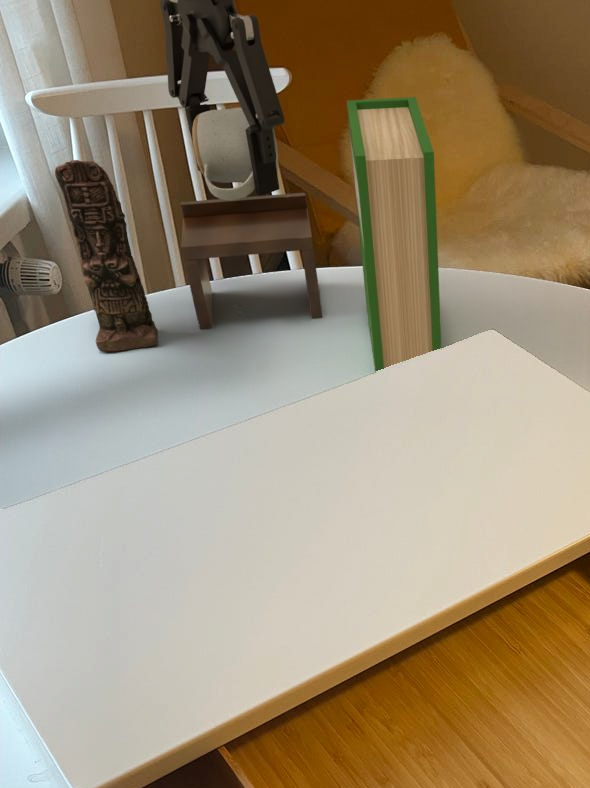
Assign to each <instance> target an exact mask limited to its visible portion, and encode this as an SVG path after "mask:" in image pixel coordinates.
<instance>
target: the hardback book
mask: <svg viewBox="0 0 590 788" xmlns="http://www.w3.org/2000/svg"><path fill="white" fill-rule="evenodd" d="M346 108H347V119H348V130H349V138H350V139H349V141H350V148H351V149H350V150H351V159H352V169H353V170H352V171H353V180H354V190H355V191H354V193H355V201H356V211H357V212H356V213H357V222H358V233H359V243H360V254H361V264H362V273H363V283H364V285H363V286H364V294H365V304H366V314H367V315H368V316H367V322H368V330H369V336H370V337H371V338H370V345H371V350H372V358H373V359H374V360H373V367H374V366H375V367H374V372H375V371H378V370H381V369H384V368H386V367H389V366H391V365H394V364H397V363H400V362H403V361H406V360H409V359H411V358H414V357H416V356H420V355H423V354H426V353H428V352H431V351H434V350H437V349H440V348H441V349H442V327H441V301H440V278H439V277H440V276H439V250H438V249H439V248H438V223H437V222H438V221H437V200H436V199H437V197H436V195H437V194H436V178H435V177H436V175H435V173H436V171H435V151H434V147H433V145H432V142H431V139H430V135H429V133H428V131H427V126H426V124H425V121H424V119H423V115H422V113H421V109H420V106H419V103H418V101H417V97H416V96H411V97H408V96H407V97H391V98H390V97H389V98H370V99H350V100H346Z"/></svg>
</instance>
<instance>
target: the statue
mask: <svg viewBox="0 0 590 788" xmlns="http://www.w3.org/2000/svg"><path fill="white" fill-rule="evenodd" d="M54 176H55V179H56V182H57V183H58V186H59V188H60V190H61V192H62V194H63V199H64V203H65V207H66V211H67V215H68V219H69V221H70V222H71V227H72V232H73V236H74V238H75V241H76V245H77V247H78V248H77V249H78V253H79V258H80V260H79V261H80V262H79V263H80V267H81V273H82V276H83V279H84V283H85V285H86V287H87V288H88V292H89V293H88V294H89V296H90V299H91V302H92V306H93V308H92V309H93V311H94V313H95V314H96V318H97V323H98V326H99V330H98V332H97V334H96V338H95V344H96V347H97V349H98V351H100V352H119V351H126V350H127V351H128V350H133V349H139V348H147V347H154V346H156V345H157V344H159V341H158V337H159V336H158V335H159V334H158V327H156V324H155V321H154V320H153V314H152V313H151V311H150V306H149V302H148V300H147V296H146V292H145V289H144V286H143V284H142V281H141V280H142V279H141V277H140V274H139V272H138V268H137V265H136V262H135V260H134V257H133V254H132V250H131V245H130V240H129V236H128V229H127V221H126V219H125V217H126V215H125V213H124V212H123V208H122V203H121V201H119V199H118V196H117V193H116V190H115V188H114V185H113V183H112V181H111V179H110V177H109V174H108V173H107V172H106V171H105V169H104V168H103V167H102V166H100V165H99V164H98V163H97V162H95V161H93V160H85V161H83V160H79V159H72V160H70V161H66V162H64V163H62V164H59V165H58V166H56V167H55V169H54Z"/></svg>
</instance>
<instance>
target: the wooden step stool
mask: <svg viewBox="0 0 590 788" xmlns="http://www.w3.org/2000/svg"><path fill="white" fill-rule="evenodd" d="M180 211H181V214H182V218H183V219H182V231H181V241H180V242H181V243H180V244H181V245H180V249H181V254H182V258H183V263H184V267H185V271H186V276H187V280H188V285H189V288H190V289H189V290H190V293H191V298H192V302H193V306H194V310H195V315H196V318H197V323H198V327H199V330H206V329H212V321H213V319H212V315H213V290H212V285H211V281H210V276H209V271H208V266H207V261H206V259H213V258H227V257H228V258H229V257H238V256H251V255H252V256H253V255H263V254H264V255H265V254H274V253H275V254H276V253H286V252H296V251H297V252H299V251H301V255H302V262H303V269H304V277H305V284H306V291H307V297H308V305H309V311H310V319H313V320H314V319H320V318H321V319H322V318H323V311H322V310H323V309H322V301H321V296H320V288H319V280H318V273H317V265H316V257H315V250H314V243H313V235H312V234H313V233H312V229H311V224H310V223H311V222H310V216H309V211H308V202H307V195H306V192H295V193H294V192H293V193H282V194H281V193H280V194H266V195H262V196H260V195H255V196H246V197H244V198H242V199H239V200H232V201H227V200H222V199H219V198H217V199H205V200H204V199H203V200H191V201H190V200H189V201H181V202H180Z"/></svg>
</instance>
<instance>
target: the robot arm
mask: <svg viewBox="0 0 590 788" xmlns="http://www.w3.org/2000/svg"><path fill="white" fill-rule="evenodd" d="M159 3H160V4H159V5H160V9H161V14H162V19H163V23H164V33H165V34H164V35H165V52H166V54H165V55H166V70H167V71H166V72H167V87H168V94H169V95H170V97H171V98H172V99H174V98H177V99H178V101H179V104H180V106H181V107H182V108H184V113H185V117H186V121H187V126H188V131H189V134H190V139H191V143H192V148H193V149H194V146H193V137H192V128H193V122H194V120H195V118H196V116H197V115H198V114H201V113H203V112H206V111H210V110H211V107H210V105H209V104H208V103H207V104H206V103H205V102H208V101H209V98H208V96H207V95H206V86H207V85H206V84H207V79H208V73H209V63H210V58H211V56H213V59H214V61H215V63H216V64H217V65H218V66H219V67H222V69H223V70H224V73H225V75H226V77H227V80H228V82H229V84H230V86H231V88H232V90H233V92H234V93H233V94H234V95H235V97H236V99H237V101H238V104H239V106H240V107H241V108H242V110H243V112H244V115H245V117H246V119H247V121H248V123H249V126H250V127H248V128H247V129H246V130H245V131H246V136H247V142H248V148H249V154H250V159H251V165H252V171H253V177H254V183H255V195H256V196H266V195H268V194H270V193H273V192H276V191H278V190H281V188H280V183H279V182H280V181H279V176H278V174H277V168H276V162H275V161H276V152H275V147H274V139H273V132H272V131H273V127H274V128H275V127H277V126H280V125H284V124H285V116H284V113H283V109H282V105H281V102H280V100H279V96H278V93H277V90H276V85H275V83H274V79H273V77H272V73H271V69H270V67H269V63H268V60H267V57H266V53H265V50H264V47H263V45H262V38H261V32H260V31H261V30H260V25H259V19H258V17H257V16H256V15H255V14H254V13H252V14H249V15H242V14H239V12H238V9H237V7H236V5H235V1H234V0H160V2H159ZM234 48H235V49H234ZM233 49H234V50H233ZM202 103H203V104H202ZM256 114H257V117H258V118H257V117H256ZM193 152H194V154H195V151H194V150H193ZM194 158H195V163H196V167H197V172H200V173H202V172H201V171H200V168H199V166H198V163H197V160H196V157H195V156H194Z"/></svg>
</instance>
